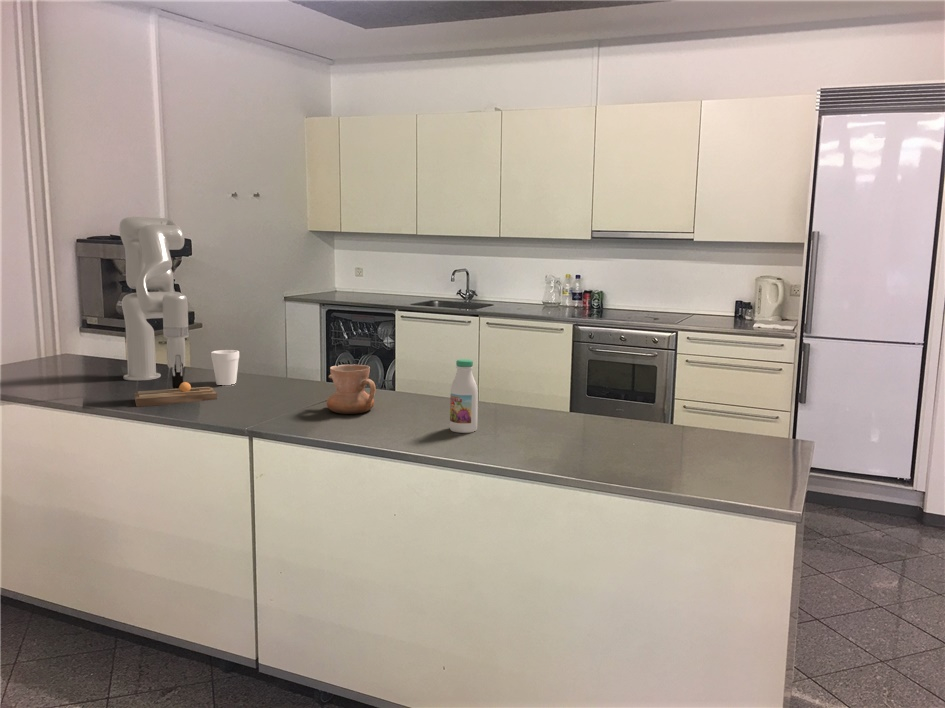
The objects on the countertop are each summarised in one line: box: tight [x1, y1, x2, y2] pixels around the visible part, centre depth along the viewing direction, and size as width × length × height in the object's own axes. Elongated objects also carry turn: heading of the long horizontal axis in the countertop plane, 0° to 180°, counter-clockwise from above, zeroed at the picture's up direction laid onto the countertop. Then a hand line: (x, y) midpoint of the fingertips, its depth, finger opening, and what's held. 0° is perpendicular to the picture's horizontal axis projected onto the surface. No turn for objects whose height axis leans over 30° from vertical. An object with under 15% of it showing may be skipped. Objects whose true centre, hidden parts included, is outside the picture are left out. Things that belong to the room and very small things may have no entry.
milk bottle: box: [449, 358, 479, 434], centre depth 203 cm, size 8×8×20 cm
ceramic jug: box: [326, 364, 376, 415], centre depth 223 cm, size 18×14×14 cm
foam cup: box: [210, 349, 240, 386], centre depth 260 cm, size 10×9×13 cm
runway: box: [134, 386, 218, 408], centre depth 237 cm, size 12×24×3 cm, turn 117°
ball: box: [178, 381, 192, 392], centre depth 237 cm, size 4×4×4 cm
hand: (177, 387), depth 238 cm, fingers closed
